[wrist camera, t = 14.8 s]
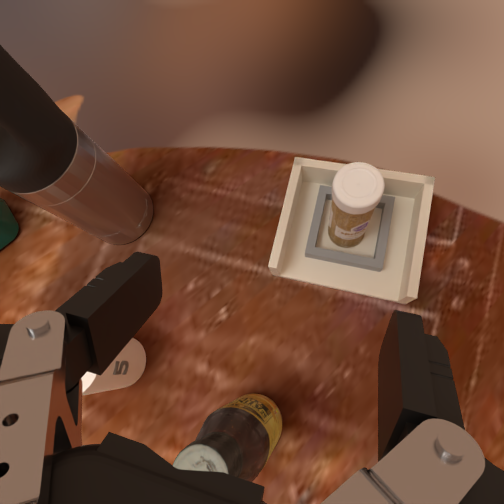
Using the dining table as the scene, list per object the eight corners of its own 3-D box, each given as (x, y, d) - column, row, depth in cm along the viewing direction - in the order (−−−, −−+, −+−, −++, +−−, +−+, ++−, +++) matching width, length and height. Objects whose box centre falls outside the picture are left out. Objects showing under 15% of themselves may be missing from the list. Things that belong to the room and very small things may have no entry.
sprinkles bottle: (345, 256, 44) (358, 217, 31) (319, 230, 45) (321, 183, 33) (373, 231, 44) (397, 183, 32) (346, 206, 46) (358, 150, 33)
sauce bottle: (282, 391, 42) (256, 423, 23) (285, 451, 40) (259, 539, 21) (227, 391, 43) (159, 423, 24) (227, 450, 41) (155, 533, 22)
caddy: (272, 275, 46) (268, 266, 41) (296, 175, 49) (295, 156, 44) (405, 304, 42) (416, 298, 38) (422, 195, 45) (435, 176, 41)
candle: (141, 392, 45) (60, 411, 30) (94, 383, 46) (-5, 397, 32) (152, 340, 46) (80, 335, 32) (106, 332, 47) (17, 324, 33)
